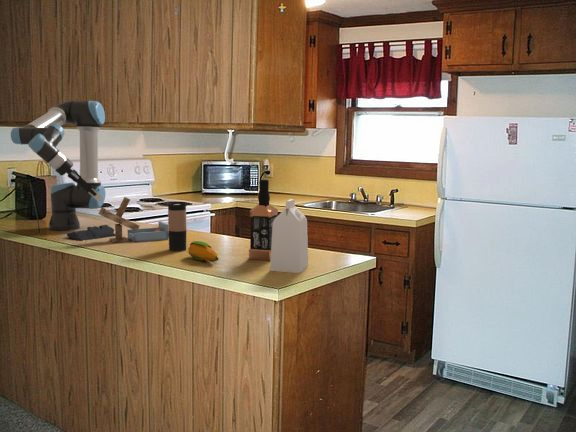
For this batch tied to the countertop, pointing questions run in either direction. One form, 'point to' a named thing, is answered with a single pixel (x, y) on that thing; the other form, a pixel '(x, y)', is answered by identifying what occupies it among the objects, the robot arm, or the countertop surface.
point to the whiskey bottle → (262, 225)
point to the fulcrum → (118, 235)
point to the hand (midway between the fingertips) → (100, 199)
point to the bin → (149, 233)
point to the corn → (202, 251)
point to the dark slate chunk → (92, 233)
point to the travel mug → (177, 226)
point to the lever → (120, 215)
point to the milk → (289, 240)
